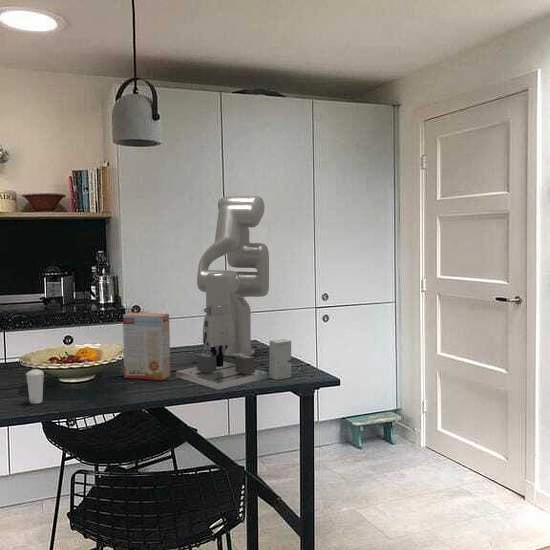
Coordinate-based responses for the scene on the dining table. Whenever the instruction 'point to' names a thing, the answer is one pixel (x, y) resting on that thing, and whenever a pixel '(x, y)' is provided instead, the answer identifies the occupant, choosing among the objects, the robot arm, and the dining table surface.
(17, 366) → the dining table surface
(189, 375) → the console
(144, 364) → the cracker box
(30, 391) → the milkshake
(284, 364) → the skincare box
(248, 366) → the fader
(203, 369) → the fader
